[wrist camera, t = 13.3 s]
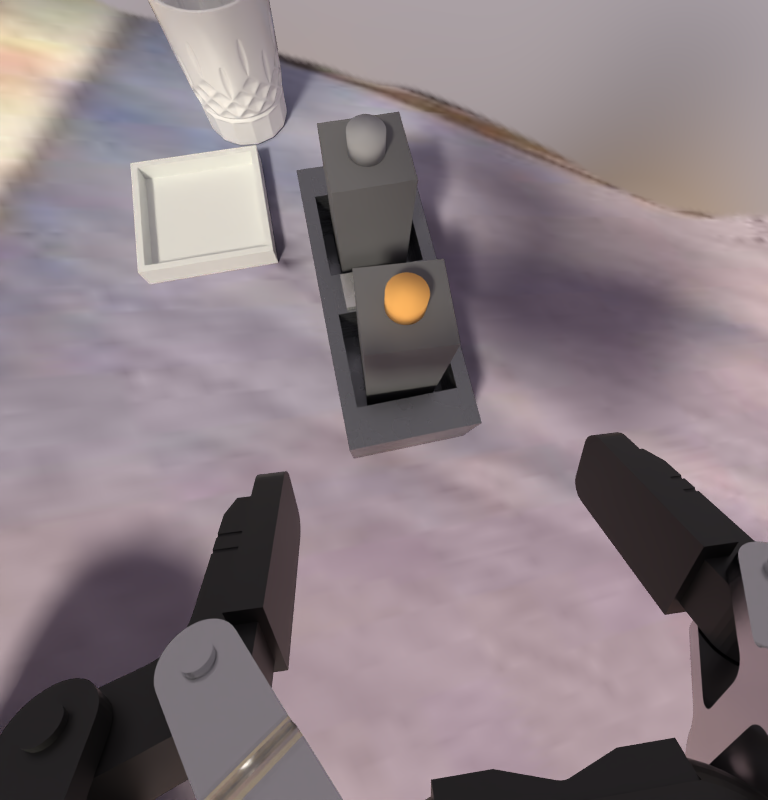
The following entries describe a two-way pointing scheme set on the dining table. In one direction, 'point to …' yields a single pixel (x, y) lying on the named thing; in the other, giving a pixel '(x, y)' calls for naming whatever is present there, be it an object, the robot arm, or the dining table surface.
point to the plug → (404, 328)
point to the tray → (201, 214)
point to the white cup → (229, 63)
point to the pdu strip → (372, 424)
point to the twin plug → (369, 188)
